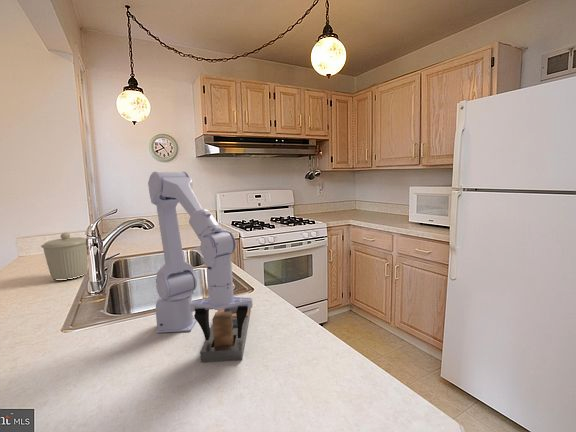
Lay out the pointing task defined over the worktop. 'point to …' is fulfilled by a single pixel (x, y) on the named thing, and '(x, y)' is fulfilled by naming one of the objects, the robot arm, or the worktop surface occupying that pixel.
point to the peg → (223, 329)
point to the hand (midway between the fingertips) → (223, 337)
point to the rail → (228, 352)
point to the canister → (66, 256)
